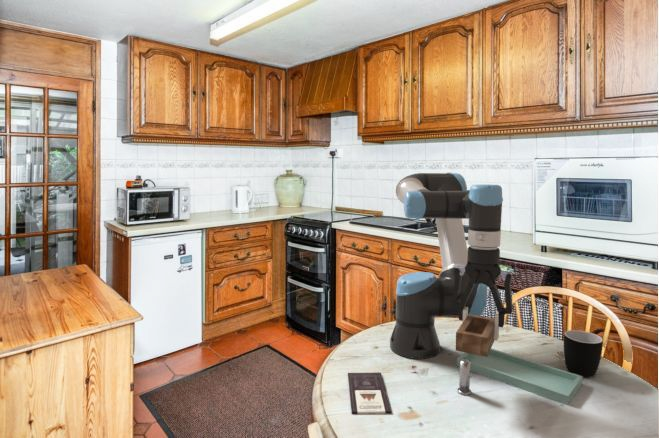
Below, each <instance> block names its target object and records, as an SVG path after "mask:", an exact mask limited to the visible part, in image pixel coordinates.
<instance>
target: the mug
mask: <svg viewBox="0 0 659 438" xmlns="http://www.w3.org/2000/svg"><path fill="white" fill-rule="evenodd" d="M603 346H604V339H603V338H602V337H601V336H599V335H598V334H596V333H592V332H589V331H585V330H581V329H579V330H577V329H572V330H570V329H569V330H566V331H565V332H564V334H563V357H564V363H565V367H566V370H567V372H570V373H574V374H577V375H580V376H583V378H592V377H594V376H595V375H596V374H597V372H598V369H599V366H600V362H601V359H602V358H601V357H602V352H603Z"/></svg>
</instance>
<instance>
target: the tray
mask: <svg viewBox="0 0 659 438" xmlns="http://www.w3.org/2000/svg"><path fill="white" fill-rule="evenodd" d="M461 359H467V360H469V361H470V372H474V373H476V374H479V375H481V376H485V377H487V378H490V379H493V380H496V381H499V382H502V383H505V384H507V385H510V386H513V387H515V388H518V389H521V390H524V391H527V392H530V393H533V394H536V395H538V396H540V397H544V398H546V399H550V400H553V401H555V402H558V403H561V404H563V405H566V406H568V405H569V404H570V402H571V401H572V399H573V398H574V397H575V395H576V394H577V392H578V391H579V389H580V388H581V386H582V385H583V378H584V377H583V376H580V375H577V374H574V373H570V372H569V371H568V370H564V369H559V368H558V367H553V366H551V365H546V364H543V363H541V362H540V363H539V362H538V361H533V360H530V359H528V358H524V357H521V356H517V355H514V354H510V353H507V352H505V351H502V350H501V351H500V350H498V349H495V348H492V347H491V349H490V352H489V354H488V356H487V357H484V356H479V355H474V354H469V353H464V352H463V353H462V354H461V355H460V356H458V357H457V358H456V366H457V367H459V368H460V360H461Z"/></svg>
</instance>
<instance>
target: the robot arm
mask: <svg viewBox="0 0 659 438" xmlns="http://www.w3.org/2000/svg"><path fill="white" fill-rule="evenodd" d="M395 194H396V197H397V199H398V200H399V202H401V203H402V204H403V213H404V216H405V217H406V218H407V219H415V220H420V219H423V220H424V219H425V220H426V219H427V220H428V219H435V224H436V229H437V237H438V244H439V252H440V253H439V254H440V259H441V260H440V261H441V267H442V271H440V273H438V277H436V274H435V273H432V272H429V271H428V272H425V271H415V272H408V273H406V274H405V273H404V274H403V275H401V276H399V278H398V279H397V281H396V290H395V295H396V298H395V299H396V305H395V306H396V307H395V323H394V328H393V329H392V333H391V335H390V339H389V348H390V350H391V351H392V352H394V353H395V354H397V355H399V356H401V357H404V358H409V359H428V358H432V357H435V356H437V355H439V353H440V351H441V350H440V349H441V348H440V347H441V343H440V340H439V336H438V334H437V330H436V327H435V320H436V319H435V318H437V317H439V318H458V321H462V323H463V322H464V320H465V319H466V318H467V316H468V314H470V315H476V316H483V313H484V312H485V309H486V307H487V305H486V304H487V300H488V299H487V298H488V288H489V290H490V293H491V296H492V298H493V302H494V305H495V307H496V310H497V311H496V313H495V315H494V318H495V332H494V342H495V341H496V342H498V340H499V337H500V328H503V327H504V326H505V315H507V314H509V315H511V314H512V313H513V311H514V305H513V304H514V303H513V295H512V284H511V283H512V282H511V281H512V279H513V275H514V274H513V272H511V271H508V272H507V271H504V270H502V268H501V266H500V262H501V261H500V257H501V250H500V248H499V247H500V246H501V235H502V216H503V215H502V213H503V212H502V211H503V201H504V198H503V188H502V186H501V185H498V184H472V185H470V188H469V189H468V187H467V182H466V180H465V178H464V176H463V175H462V174H460V173H457V172H456V173H455V172H445V173H443V172H442V173H440V172H439V173H438V172H436V173H435V172H431V173H429V172H427V173H425V172H423V173H422V172H418V173H413V174H409V175H407V176H405V177H403V178H402V179H400V181H399V182H398V183H397V185H396V189H395ZM463 219H466V220H467V219H468V232H467V240H466V235H465V229H464V224H463ZM467 244H468V245H467ZM500 276H501V280H502V281H503V282H504V283H503V285H504V286H503V287H504V296H505V297H504V299H505V306H504V304H503V300H502V298H501V295H500V292H499V289H498V286H497V282H496V280H497V279H498V277H500ZM487 286H488V287H487Z"/></svg>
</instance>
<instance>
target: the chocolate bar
mask: <svg viewBox="0 0 659 438" xmlns="http://www.w3.org/2000/svg"><path fill="white" fill-rule="evenodd" d="M347 378H348V381H347V382H348V388H349V391H348V392H349V400H350V410H351V414H352V415H356V414H357V415H363V414H364V415H365V414H366V415H367V414H368V415H373V414H374V415H376V414H377V415H378V414H386V415H387V414H388V415H389V414H392V410H391V405H390V402H389V398H388V394H387V390H386V387H385V384H384V383H385V382H384V379H383V375H382V372H348V373H347Z"/></svg>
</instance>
